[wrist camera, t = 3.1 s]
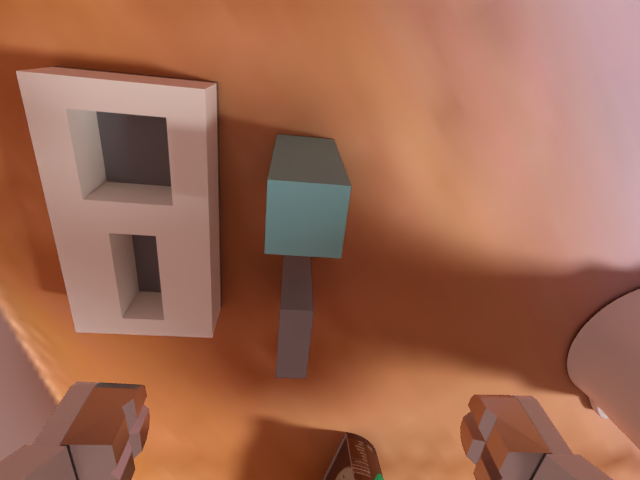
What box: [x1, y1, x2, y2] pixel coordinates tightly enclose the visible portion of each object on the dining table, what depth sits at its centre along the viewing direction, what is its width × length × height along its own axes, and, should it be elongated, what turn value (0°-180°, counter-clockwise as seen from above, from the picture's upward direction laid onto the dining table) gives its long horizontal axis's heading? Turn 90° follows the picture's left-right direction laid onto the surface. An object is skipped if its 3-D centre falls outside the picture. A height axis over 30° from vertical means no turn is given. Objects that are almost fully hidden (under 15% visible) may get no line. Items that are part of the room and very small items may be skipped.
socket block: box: [16, 66, 222, 338], centre depth 27 cm, size 10×18×4 cm, turn 174°
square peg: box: [264, 134, 351, 258], centre depth 24 cm, size 4×4×10 cm
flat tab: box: [276, 255, 314, 379], centre depth 28 cm, size 2×6×9 cm, turn 174°
